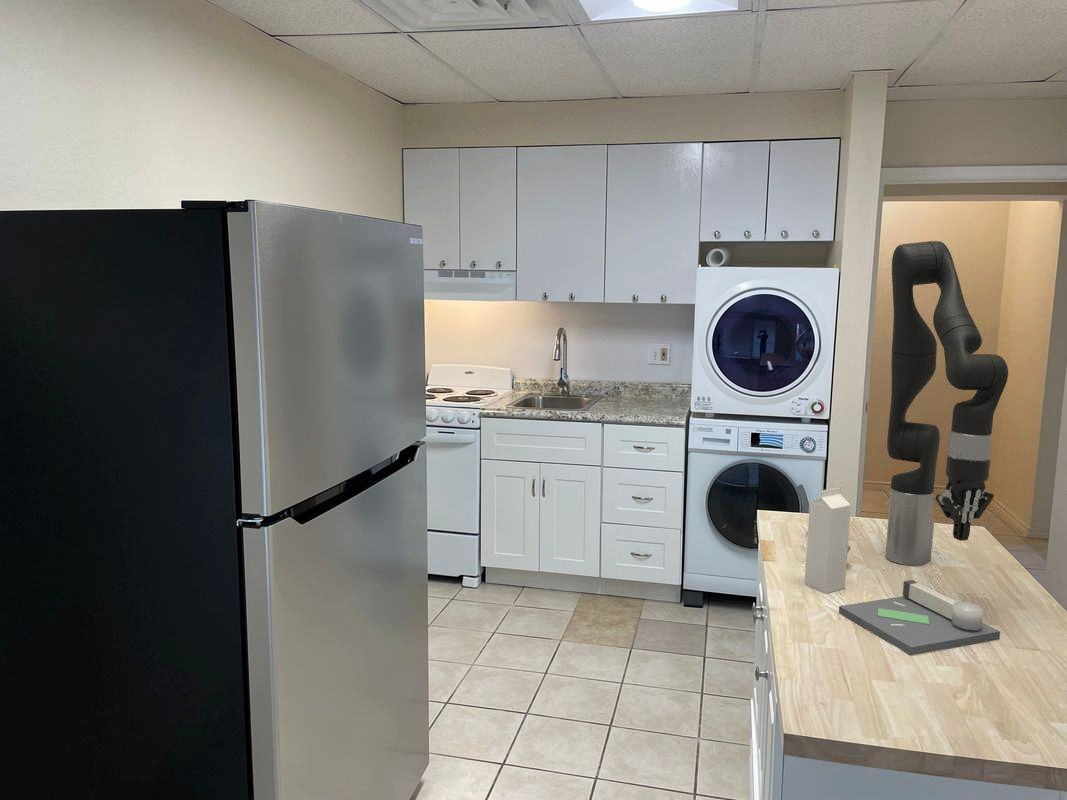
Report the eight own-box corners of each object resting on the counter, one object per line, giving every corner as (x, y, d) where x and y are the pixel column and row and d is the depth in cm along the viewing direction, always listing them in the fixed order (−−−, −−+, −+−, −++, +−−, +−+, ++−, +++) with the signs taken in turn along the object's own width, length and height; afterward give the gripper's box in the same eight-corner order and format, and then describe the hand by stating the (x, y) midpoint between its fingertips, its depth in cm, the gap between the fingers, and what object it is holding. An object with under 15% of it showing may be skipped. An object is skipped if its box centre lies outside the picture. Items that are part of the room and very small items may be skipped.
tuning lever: (987, 628, 151) (989, 610, 150) (967, 631, 149) (969, 613, 149) (916, 593, 167) (917, 577, 167) (897, 596, 166) (898, 579, 165)
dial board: (921, 600, 169) (921, 592, 168) (999, 638, 151) (1000, 630, 151) (838, 613, 162) (839, 605, 162) (910, 655, 144) (911, 646, 144)
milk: (844, 588, 174) (853, 490, 171) (825, 594, 172) (833, 494, 168) (822, 579, 180) (829, 484, 176) (803, 584, 177) (810, 487, 173)
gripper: (979, 449, 164) (970, 531, 166) (927, 452, 160) (919, 536, 162) (1011, 457, 157) (1002, 542, 159) (958, 460, 153) (949, 548, 155)
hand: (960, 539), depth 161 cm, fingers closed
